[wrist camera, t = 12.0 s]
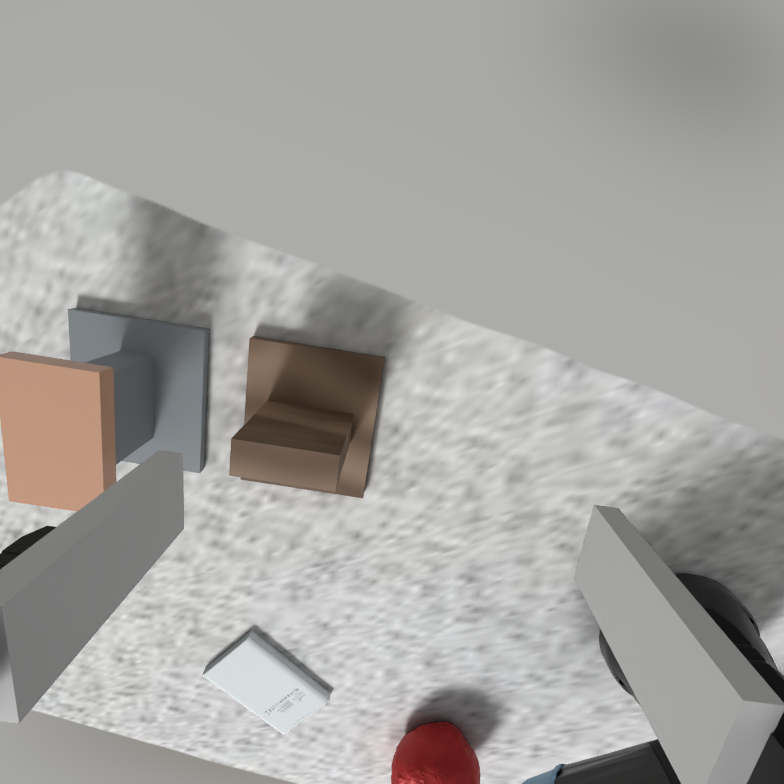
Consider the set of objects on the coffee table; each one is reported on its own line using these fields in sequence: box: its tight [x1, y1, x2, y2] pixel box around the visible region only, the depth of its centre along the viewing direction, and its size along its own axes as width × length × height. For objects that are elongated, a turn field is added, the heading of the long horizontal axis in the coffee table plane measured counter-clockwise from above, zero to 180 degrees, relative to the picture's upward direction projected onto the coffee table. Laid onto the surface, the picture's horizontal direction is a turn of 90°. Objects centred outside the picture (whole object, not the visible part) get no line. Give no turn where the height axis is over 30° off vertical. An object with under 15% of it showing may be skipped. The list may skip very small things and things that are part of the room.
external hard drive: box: [202, 630, 331, 734], centre depth 52 cm, size 2×8×12 cm
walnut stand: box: [229, 336, 385, 498], centre depth 38 cm, size 14×12×10 cm
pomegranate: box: [391, 722, 480, 784], centre depth 50 cm, size 10×10×9 cm
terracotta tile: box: [0, 352, 116, 511], centre depth 32 cm, size 7×11×2 cm, turn 171°
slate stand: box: [68, 308, 209, 473], centre depth 38 cm, size 14×12×10 cm
